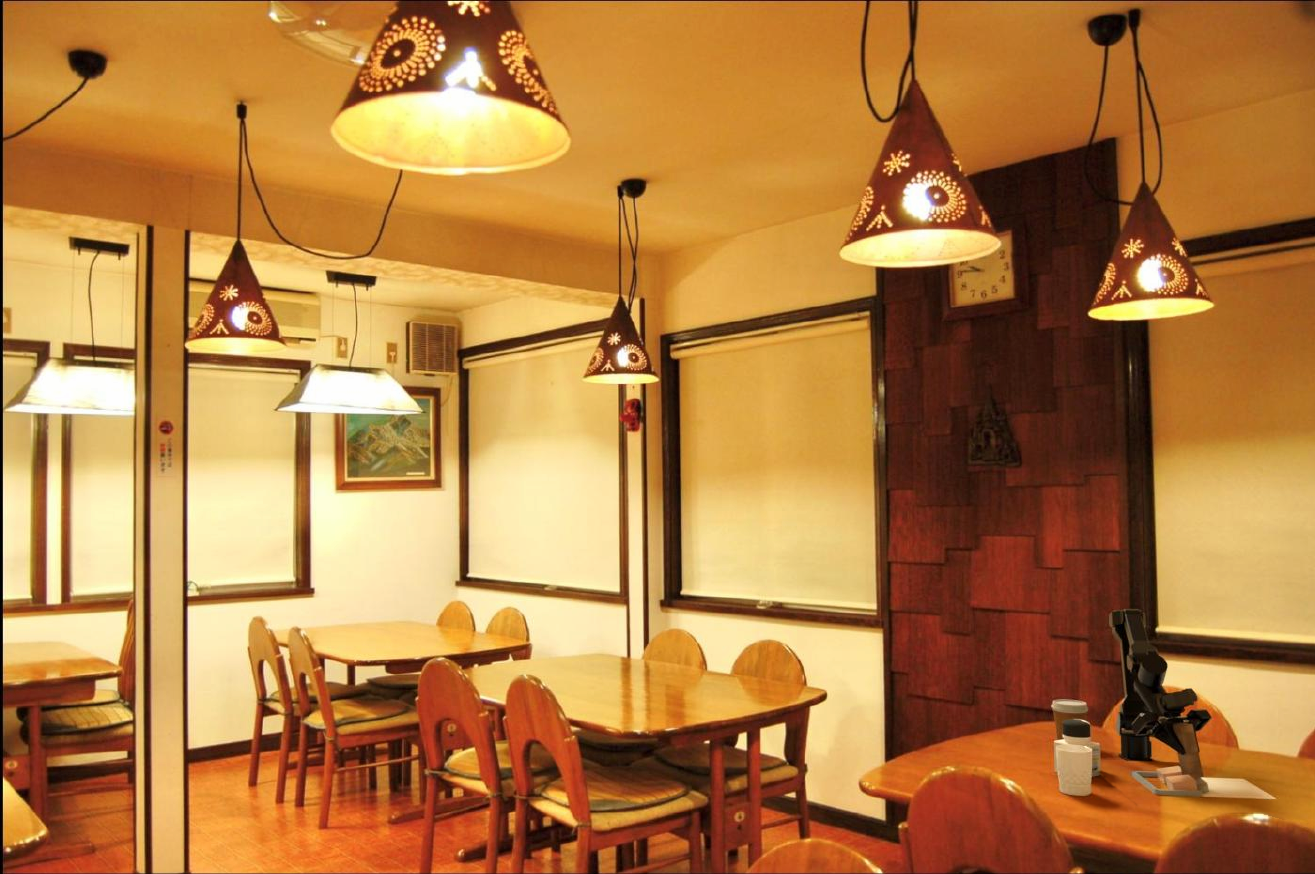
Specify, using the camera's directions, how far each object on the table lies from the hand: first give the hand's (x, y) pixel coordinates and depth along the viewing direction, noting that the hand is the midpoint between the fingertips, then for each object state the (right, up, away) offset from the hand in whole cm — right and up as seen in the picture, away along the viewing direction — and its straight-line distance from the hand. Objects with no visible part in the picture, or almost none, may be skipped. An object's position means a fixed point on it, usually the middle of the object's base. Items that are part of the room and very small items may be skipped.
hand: (1191, 753), depth 240 cm
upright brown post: (+1, -8, 0) cm, 8 cm away
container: (-20, -10, +16) cm, 27 cm away
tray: (-5, -9, +1) cm, 11 cm away
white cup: (-27, -9, 0) cm, 28 cm away
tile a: (-3, -8, -3) cm, 9 cm away
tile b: (-2, -8, +5) cm, 10 cm away
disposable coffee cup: (-10, -12, +45) cm, 47 cm away
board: (+7, -9, 0) cm, 12 cm away
